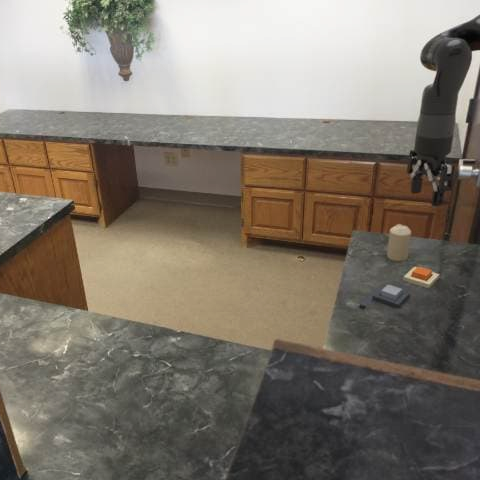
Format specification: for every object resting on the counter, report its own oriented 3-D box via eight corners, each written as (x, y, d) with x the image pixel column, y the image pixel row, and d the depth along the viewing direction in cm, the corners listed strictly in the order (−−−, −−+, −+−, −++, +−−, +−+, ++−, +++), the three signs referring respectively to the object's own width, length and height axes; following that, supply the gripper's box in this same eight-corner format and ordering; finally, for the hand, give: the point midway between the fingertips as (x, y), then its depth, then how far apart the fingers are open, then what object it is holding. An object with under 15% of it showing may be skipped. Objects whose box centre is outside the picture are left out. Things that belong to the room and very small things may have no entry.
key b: (387, 290, 130) (388, 284, 129) (401, 294, 127) (402, 288, 126) (380, 296, 127) (381, 290, 127) (394, 301, 125) (395, 295, 124)
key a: (417, 271, 136) (418, 266, 135) (431, 275, 133) (432, 270, 132) (411, 277, 134) (412, 271, 133) (425, 281, 131) (426, 275, 130)
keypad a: (410, 270, 141) (412, 260, 140) (449, 281, 135) (451, 271, 133) (391, 288, 134) (392, 278, 133) (430, 301, 128) (432, 291, 126)
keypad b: (381, 287, 135) (382, 278, 134) (420, 300, 128) (422, 290, 127) (359, 307, 128) (360, 297, 127) (399, 322, 121) (400, 312, 120)
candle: (384, 253, 151) (387, 222, 147) (403, 252, 151) (407, 221, 146) (391, 262, 146) (394, 231, 142) (410, 260, 146) (415, 229, 141)
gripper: (471, 137, 108) (459, 208, 115) (432, 122, 121) (423, 186, 128) (438, 142, 107) (428, 212, 115) (401, 126, 120) (394, 190, 127)
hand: (425, 198), depth 121 cm, fingers open, 8 cm apart
